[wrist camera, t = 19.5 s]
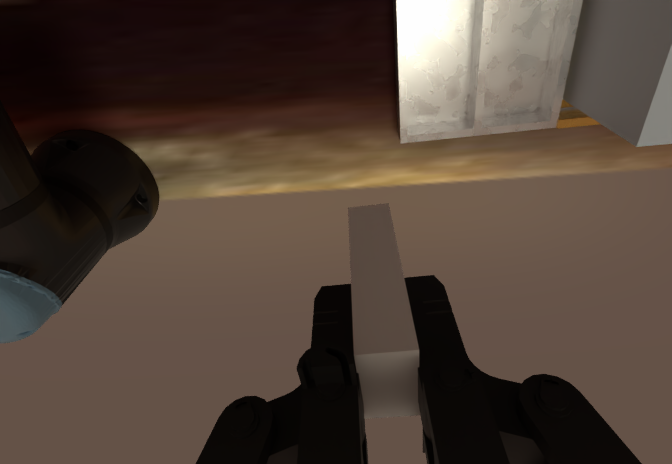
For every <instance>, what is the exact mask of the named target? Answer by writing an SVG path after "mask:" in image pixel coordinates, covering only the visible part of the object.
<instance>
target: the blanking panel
mask: <svg viewBox="0 0 672 464" xmlns="http://www.w3.org/2000/svg"><path fill="white" fill-rule="evenodd" d="M563 100H565V101H566V102H568V103H569V104H571V105H572V106H574V107H575V108H577V109H579V110H580V111H582V112H583V113H585V114H586V115H588V116H589V117H591V118H593V119H594V120H596V121H597V122H599V123H600V124H602V125H603V126H605V127H607V128H608V129H610V130H611V131H613V132H614V133H616V134H617V135H619V136H620V137H622V138H624V139H625V140H627V141H628V142H630V143H631V144H633V145H634V146H636V147H640V146H651V145H662V144H672V0H583V2H582V7H581V12H580V17H579V22H578V26H577V31H576V36H575V41H574V46H573V51H572V55H571V60H570V65H569V70H568V75H567V80H566V84H565V89H564V94H563Z"/></svg>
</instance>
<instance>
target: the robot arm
mask: <svg viewBox="0 0 672 464" xmlns="http://www.w3.org/2000/svg"><path fill="white" fill-rule="evenodd" d="M158 205H159V194H158V189H157V185H156V183H155V180H154V178H153V176H152V174H151V172H150V171H149V169H148V168H147V167H146V165H145V164H144V163H143V162H142V160H141V159H140V158H139V157H138V156H137V155H136V154H135V153H133V152H132V151H131V150H130V149H128V148H127V147H126V146H124V145H123V144H121V143H120V142H118V141H116V140H114V139H112V138H110V137H108V136H105V135H103V134H100V133H96V132H92V131H86V130H70V131H65V132H62V133H59V134H57V135H55V136H53V137H51V138H50V139H48V140H46V141H45V142H43V143H42V144H40V145H39V146H38V147H37V148H36V149H35V150H34V152H33V153H32V155H31V156H30V154H29V152H28V150H27V148H26V146H25V145H24V143H23V141H22V139H21V137H20V135H19V134H18V132H17V130H16V128H15V126H14V124H13V123H12V121H11V119H10V117H9V115H8V113H7V112H6V110H5V108H4V106H3V104H2V102H1V101H0V343H10V342H14V341H18V340H21V339H24V338H26V337H28V336H30V335H32V334H33V333H34V332H36V331H37V330H38V329H39V328H40V327H41V326H42V325H43V324H44V323H45V322H46V321H47V320H48V319H49V318H50V317H51V316H52V315H53V314H55V313H56V312H58V311H59V309H60V308H61V306H62V305H63V304H64V302H65V301H66V300H67V299H68V298H69V296H70V295H71V294H72V293H73V291H74V290H75V289H76V288H77V287H78V285H79V284H80V283H81V282H82V281H83V279H84V278H85V277H86V276H87V274H88V273H89V272H90V271H91V269H92V268H93V267H94V266H95V265H96V264H97V262H98V261H99V260H100V259H101V258H102V256H103V255H104V254H105V253H106V252H107V250H108V249H110V248H112V247H114V246H116V245H118V244H120V243H122V242H124V241H126V240H128V239H130V238H132V237H134V236H136V235H137V234H139V233H140V232H142V231H143V230H144V229H145V228H146V227H147V225H148V224H149V223H150V221H151V220H152V219H153V218H154V216H155V214H156V212H157V209H158ZM348 216H349V243H350V268H351V284H344V285H332V286H322V287H321V289H320V290H319V292H318V294H317V295H316V297H315V301H314V315H313V327H312V341H311V348H310V349H308V350H307V351H306V352H305V353H304V354H303V356H302V357H301V358H300V359H299V363H298V366H297V372H298V375H299V378H300V381H301V385H300V386H299V387H298V388H296V389H295V390H294V391H292V392H290V393H289V394H286V395H284V396H282V397H279V398H277V399H274V400H272V401H269V402H266V401H265V399H262V398H260V397H257V396H245V397H242V398H240V399H237V400H235V401H234V402H233V403H231V404H230V405H229V406H227V407H226V408H225V410H224V411H223V412H222V414H221V415H220V417H219V418H218V420H217V422H216V424H215V426H214V428H213V430H212V432H211V434H210V436H209V438H208V440H207V442H206V444H205V446H204V448H203V450H202V452H201V454H200V456H199V458H198V460H197V462H196V464H368V454H367V439H366V434H365V419H368V418H383V417H400V416H414V415H420V414H421V420H422V425H423V453H426V458H427V464H642V463H641V462H640V461H639V460H638V459H637V458H636V456H635V455H634V454H633V453H632V452H631V451H630V449H629V448H628V447H627V446H626V445H625V444H624V443H623V442H622V440H621V439H620V438H619V437H618V436H617V434H616V433H615V432H614V431H613V430H612V429H611V427H610V426H609V425H608V424H607V423H606V421H605V420H604V419H603V418H602V417H601V416H600V415H599V413H598V412H597V411H596V410H595V409H594V408H593V406H592V405H591V404H590V403H589V402H588V401H587V399H585V397H584V396H583V395H582V394H581V393H580V392H579V391H578V390H577V389H576V388H575V387H574V386H573V385H572V384H570V383H569V382H567V381H565V380H563V379H561V378H559V377H557V376H552V375H547V374H539V375H532V376H531V377H529V378H527V379H526V380H524V382H523V383H522V384H521V383H517V382H512V381H507V380H503V379H498V378H495V377H492V376H489V375H488V374H486V373H484V372H482V371H480V370H479V369H478V368H477V367H476V366H474V364H473V363H472V362H471V361H470V360H469V358H468V356H467V354H466V351H465V348H464V345H463V342H462V339H461V336H460V333H459V330H458V327H457V324H456V321H455V318H454V315H453V313H452V308H451V305H450V302H449V300H448V296H447V293H446V290H445V287H444V285H443V284H442V283H441V282H440V281H439V280H438V279H437V278H436V277H435V276H434V275H430V276H419V277H408V278H404V275H403V270H402V266H401V261H400V256H399V251H398V246H397V241H396V237H395V232H394V227H393V222H392V218H391V213H390V208H389V204H388V203H387V204H378V205H368V206H360V207H350V208H348Z"/></svg>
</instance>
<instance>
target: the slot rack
mask: <svg viewBox="0 0 672 464" xmlns="http://www.w3.org/2000/svg"><path fill="white" fill-rule="evenodd" d="M582 2H583V0H393V11H394V40H395V70H396V99H397V128H398V135H399V139H400V143H410V142H419V141H429V140H439V139H448V138H458V137H468V136H478V135H487V134H497V133H507V132H517V131H526V130H536V129H546V128H555V127H557V128H567V127H577V126H587V125H596V124H600V123H599V122H597V121H596V120H594V119H593V118H591V117H589V116H588V115H586V114H585V113H583V112H582V111H580V110H579V109H577V108H575V107H574V106H572V105H571V104H569V103H568V102H566V101H565V100H563V94H564V89H565V84H566V80H567V75H568V70H569V65H570V60H571V55H572V51H573V46H574V41H575V36H576V31H577V26H578V22H579V17H580V12H581V7H582Z"/></svg>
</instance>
